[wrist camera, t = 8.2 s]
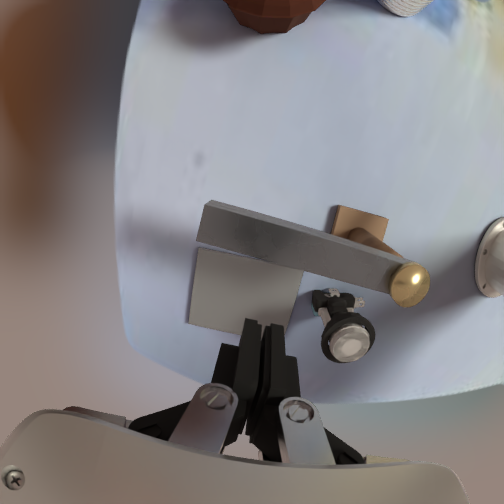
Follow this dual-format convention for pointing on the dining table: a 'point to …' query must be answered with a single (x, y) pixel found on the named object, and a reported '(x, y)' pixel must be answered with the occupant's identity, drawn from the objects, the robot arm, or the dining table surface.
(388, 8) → the water bottle
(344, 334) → the push button
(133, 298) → the dining table surface
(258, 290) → the rubber mat
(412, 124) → the dining table surface
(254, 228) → the steel strap
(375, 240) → the post
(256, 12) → the muffin
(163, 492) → the robot arm
